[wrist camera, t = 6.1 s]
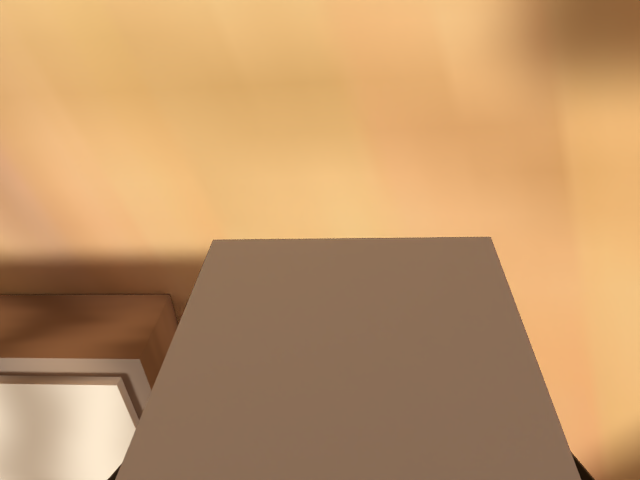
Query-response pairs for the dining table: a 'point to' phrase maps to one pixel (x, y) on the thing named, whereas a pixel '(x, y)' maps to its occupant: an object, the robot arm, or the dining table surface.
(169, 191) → the dining table surface
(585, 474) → the robot arm
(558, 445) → the grey striped cube
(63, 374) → the stand
